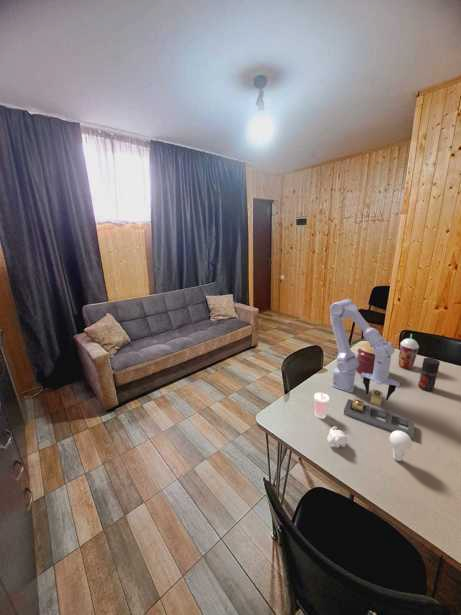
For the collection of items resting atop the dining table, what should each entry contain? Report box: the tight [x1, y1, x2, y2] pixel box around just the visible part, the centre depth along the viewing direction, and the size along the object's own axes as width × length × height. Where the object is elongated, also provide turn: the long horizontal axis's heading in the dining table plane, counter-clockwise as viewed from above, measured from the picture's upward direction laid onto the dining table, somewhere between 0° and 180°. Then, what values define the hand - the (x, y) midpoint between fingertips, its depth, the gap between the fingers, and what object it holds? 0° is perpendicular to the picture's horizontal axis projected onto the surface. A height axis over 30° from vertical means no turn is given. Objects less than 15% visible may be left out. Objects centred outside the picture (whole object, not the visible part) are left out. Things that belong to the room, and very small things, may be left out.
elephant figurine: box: [326, 425, 350, 449], centre depth 89 cm, size 7×8×6 cm
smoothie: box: [398, 333, 420, 370], centre depth 136 cm, size 8×8×20 cm
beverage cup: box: [313, 385, 330, 419], centre depth 103 cm, size 6×6×14 cm
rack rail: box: [343, 398, 415, 441], centre depth 101 cm, size 24×8×2 cm, turn 53°
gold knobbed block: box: [351, 398, 366, 414], centre depth 105 cm, size 4×4×6 cm
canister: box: [356, 342, 375, 375], centre depth 133 cm, size 13×13×18 cm
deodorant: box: [417, 357, 440, 393], centre depth 118 cm, size 6×6×15 cm
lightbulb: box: [389, 430, 413, 462], centre depth 82 cm, size 6×6×11 cm
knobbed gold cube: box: [370, 389, 384, 407], centre depth 111 cm, size 4×4×6 cm
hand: (377, 396), depth 110 cm, fingers open, 7 cm apart
